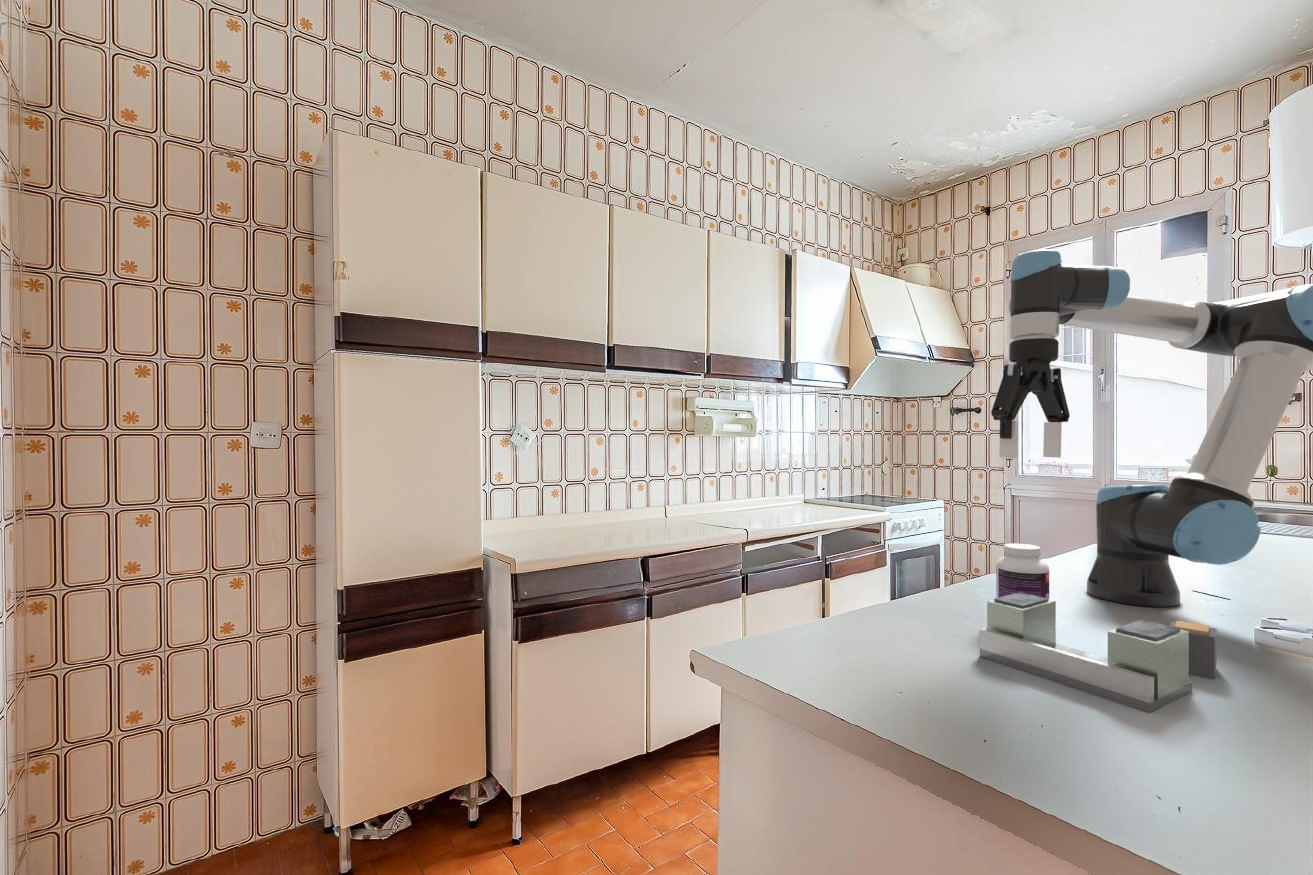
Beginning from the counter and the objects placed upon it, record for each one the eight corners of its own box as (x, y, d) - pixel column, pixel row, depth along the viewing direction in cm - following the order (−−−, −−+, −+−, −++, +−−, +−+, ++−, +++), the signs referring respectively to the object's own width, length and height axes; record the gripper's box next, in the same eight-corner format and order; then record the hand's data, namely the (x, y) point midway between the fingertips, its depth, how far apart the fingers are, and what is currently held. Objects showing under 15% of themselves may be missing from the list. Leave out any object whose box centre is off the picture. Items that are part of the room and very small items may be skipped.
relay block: (1171, 660, 92) (1171, 618, 92) (1216, 669, 88) (1216, 625, 88) (1167, 670, 88) (1167, 626, 88) (1214, 680, 85) (1214, 634, 85)
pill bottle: (1058, 636, 103) (1058, 551, 102) (1005, 634, 104) (1005, 550, 104) (1038, 621, 110) (1038, 542, 110) (989, 619, 112) (989, 541, 112)
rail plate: (1023, 641, 100) (1023, 589, 100) (1191, 690, 81) (1191, 626, 81) (979, 656, 94) (979, 600, 94) (1150, 712, 75) (1150, 643, 75)
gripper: (1050, 347, 119) (1048, 456, 119) (970, 336, 107) (967, 457, 107) (1093, 343, 112) (1090, 458, 113) (1013, 330, 100) (1010, 459, 101)
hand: (1030, 457), depth 110 cm, fingers open, 13 cm apart
